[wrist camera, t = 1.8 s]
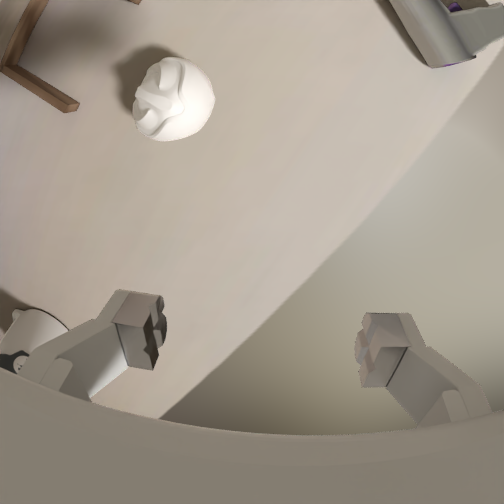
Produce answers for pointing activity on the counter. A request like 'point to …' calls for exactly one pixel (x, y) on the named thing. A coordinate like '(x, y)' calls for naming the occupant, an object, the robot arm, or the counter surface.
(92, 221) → the counter surface
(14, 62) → the bay
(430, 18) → the infrared thermometer
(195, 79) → the white sculpted ball
